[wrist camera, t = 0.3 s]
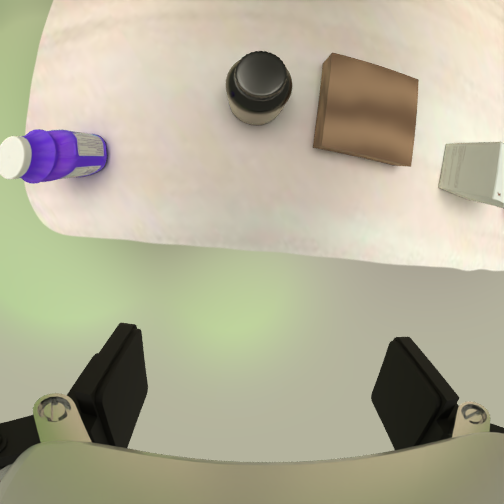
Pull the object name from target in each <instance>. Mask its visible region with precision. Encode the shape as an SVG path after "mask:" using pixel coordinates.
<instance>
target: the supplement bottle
mask: <svg viewBox="0 0 504 504" xmlns="http://www.w3.org/2000/svg"><path fill="white" fill-rule="evenodd" d="M291 91H292V79H291V76H290V73H289V71H288V70H287V68H286V67H285V65H284V64H283V61H282V60H280V58H279V57H277V56H276V55H274V54H272V53H268V52H266V51H265V52H263V51H259V52H258V51H255V52H251V53H250V54H246V56H244V57H242V59H241V60H239V61H238V62H236V63H235V64H234V65H233V66H232V67H231V69H230V70H229V72H228V75H227V78H226V92H227V96H228V101H229V105H230V108H231V110H232V112H233V114H234V115H235V116H236V117H237V118H238V119H239V120H241V121H242V122H244V123H247V124H251V125H262V124H266V123H268V122H270V121H272V120H273V119H275V118H276V117H277V116H278V114H279V113H280V112H281V110H282V109H283V107H284V106H285V104H286V102H287V101H288V99H289V97H290V95H291Z"/></svg>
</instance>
